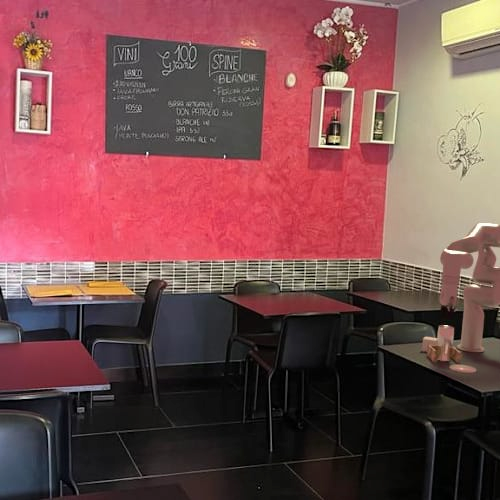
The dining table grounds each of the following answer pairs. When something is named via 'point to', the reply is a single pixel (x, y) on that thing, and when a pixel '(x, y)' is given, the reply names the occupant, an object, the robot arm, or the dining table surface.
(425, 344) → the pale pink cube
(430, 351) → the wooden u-shaped bracket
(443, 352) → the beer glass
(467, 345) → the robot arm
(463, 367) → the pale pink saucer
